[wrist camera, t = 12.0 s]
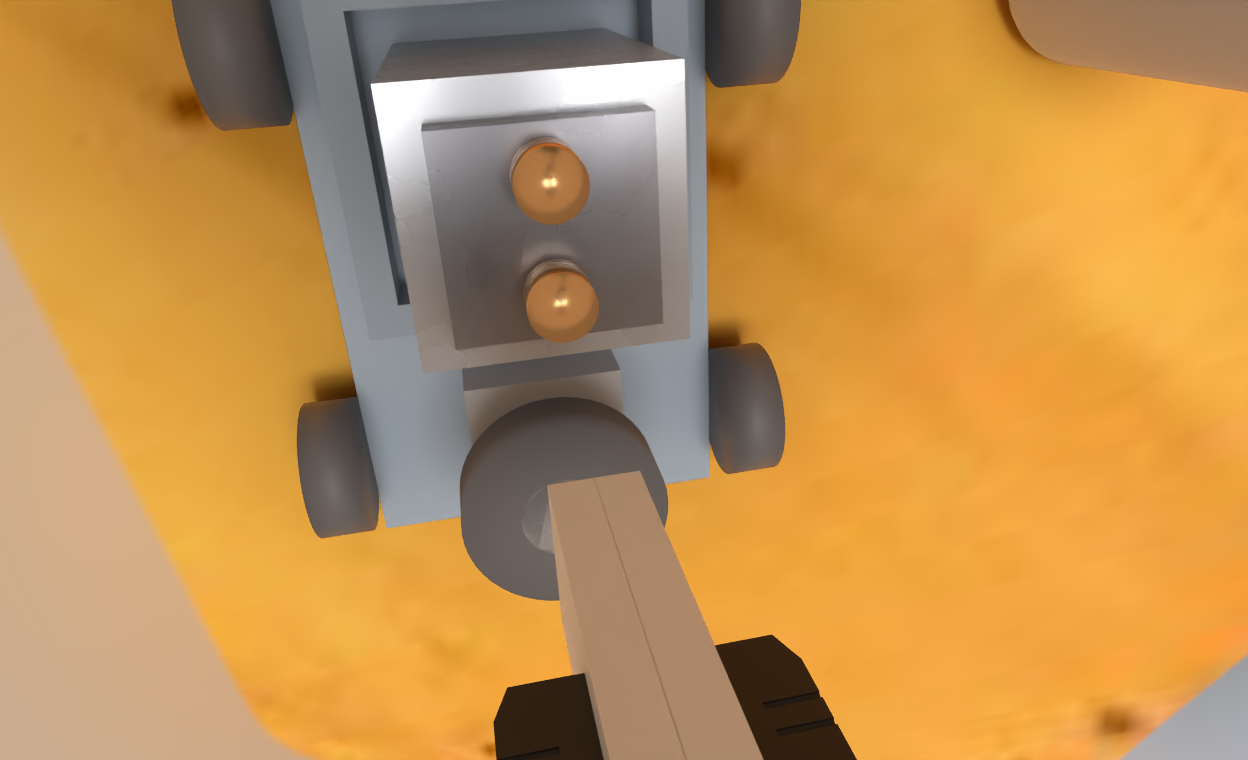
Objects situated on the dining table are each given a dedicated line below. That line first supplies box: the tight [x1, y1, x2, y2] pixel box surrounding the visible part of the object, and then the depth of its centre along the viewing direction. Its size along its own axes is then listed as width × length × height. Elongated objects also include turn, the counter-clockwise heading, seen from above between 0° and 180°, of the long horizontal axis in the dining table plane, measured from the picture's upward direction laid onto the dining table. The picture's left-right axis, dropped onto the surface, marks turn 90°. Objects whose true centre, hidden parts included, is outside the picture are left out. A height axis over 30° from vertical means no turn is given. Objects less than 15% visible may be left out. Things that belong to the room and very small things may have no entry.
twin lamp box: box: [371, 28, 690, 374], centre depth 21 cm, size 6×6×11 cm
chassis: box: [172, 0, 801, 538], centre depth 26 cm, size 20×15×4 cm
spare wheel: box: [460, 397, 668, 601], centre depth 26 cm, size 6×6×4 cm
